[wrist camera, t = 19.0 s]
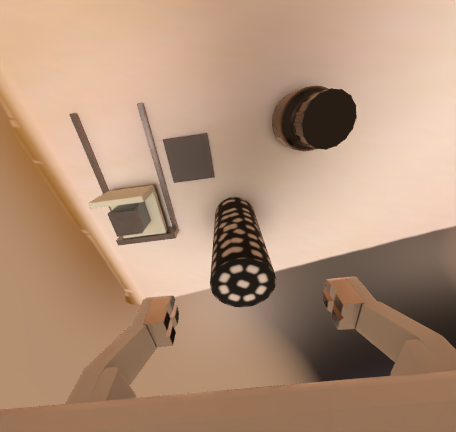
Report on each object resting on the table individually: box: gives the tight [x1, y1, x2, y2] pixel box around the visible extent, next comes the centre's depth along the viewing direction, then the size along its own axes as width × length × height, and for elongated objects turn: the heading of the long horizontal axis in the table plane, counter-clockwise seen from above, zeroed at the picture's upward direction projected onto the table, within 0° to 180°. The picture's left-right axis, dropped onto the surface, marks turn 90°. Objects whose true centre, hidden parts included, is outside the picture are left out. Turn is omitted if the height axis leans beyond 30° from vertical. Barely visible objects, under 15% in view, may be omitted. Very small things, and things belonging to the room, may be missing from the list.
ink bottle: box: [272, 86, 357, 151], centre depth 30 cm, size 10×9×12 cm
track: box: [69, 103, 179, 245], centre depth 38 cm, size 25×12×3 cm, turn 8°
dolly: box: [88, 185, 167, 238], centre depth 38 cm, size 10×9×8 cm
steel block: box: [108, 201, 151, 237], centre depth 37 cm, size 4×4×5 cm
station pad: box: [163, 133, 214, 183], centre depth 38 cm, size 8×8×1 cm
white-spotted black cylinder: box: [210, 197, 276, 307], centre depth 34 cm, size 8×8×20 cm
